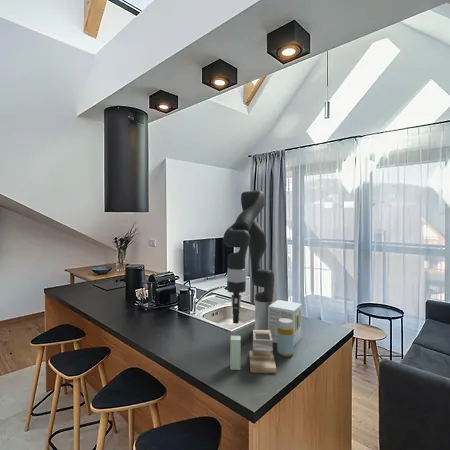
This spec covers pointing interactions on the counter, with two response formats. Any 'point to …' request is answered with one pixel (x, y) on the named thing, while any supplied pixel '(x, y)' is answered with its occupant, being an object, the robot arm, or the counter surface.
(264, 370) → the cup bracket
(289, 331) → the bottle
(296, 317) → the supplement box
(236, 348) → the rail post
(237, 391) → the counter surface
